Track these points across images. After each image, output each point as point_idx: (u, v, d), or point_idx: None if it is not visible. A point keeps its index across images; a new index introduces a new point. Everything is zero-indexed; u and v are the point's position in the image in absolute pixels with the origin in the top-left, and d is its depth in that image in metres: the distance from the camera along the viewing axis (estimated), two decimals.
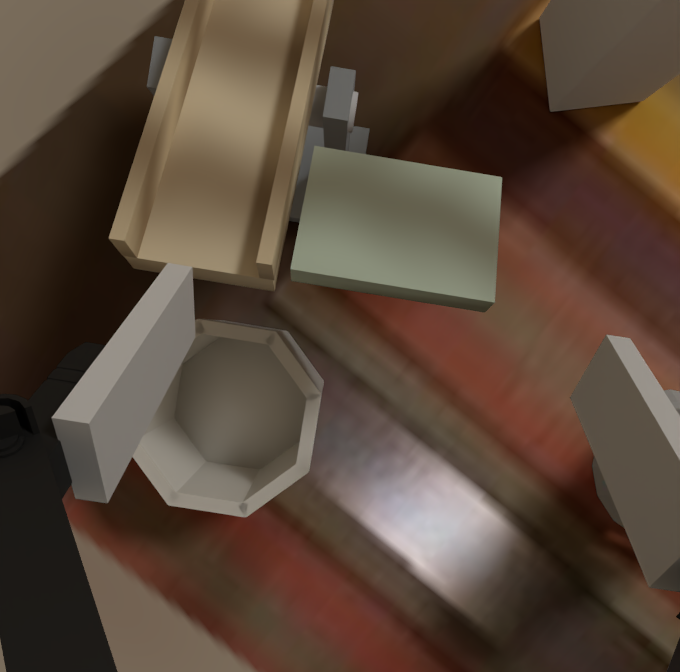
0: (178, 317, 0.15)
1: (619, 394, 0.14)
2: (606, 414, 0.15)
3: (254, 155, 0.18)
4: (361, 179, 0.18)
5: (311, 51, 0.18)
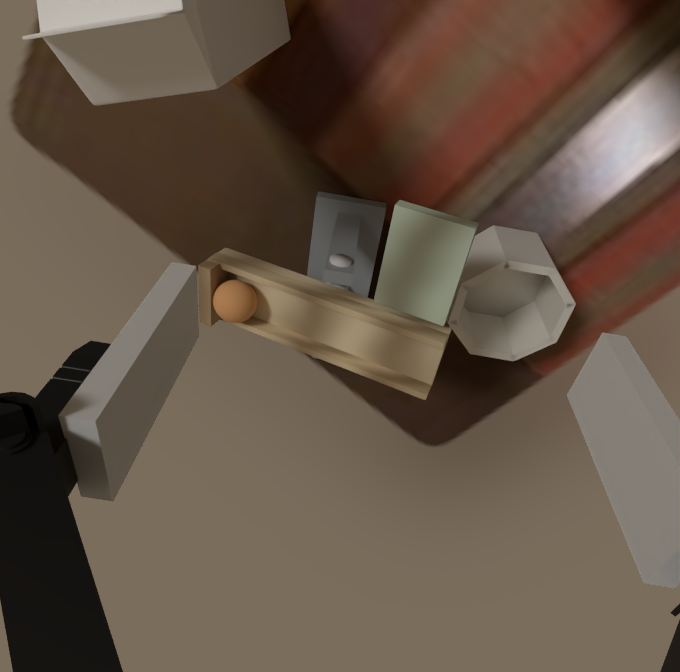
0: (182, 316, 0.15)
1: (615, 391, 0.14)
2: (602, 411, 0.15)
3: (378, 329, 0.35)
4: (394, 283, 0.33)
5: (325, 302, 0.34)
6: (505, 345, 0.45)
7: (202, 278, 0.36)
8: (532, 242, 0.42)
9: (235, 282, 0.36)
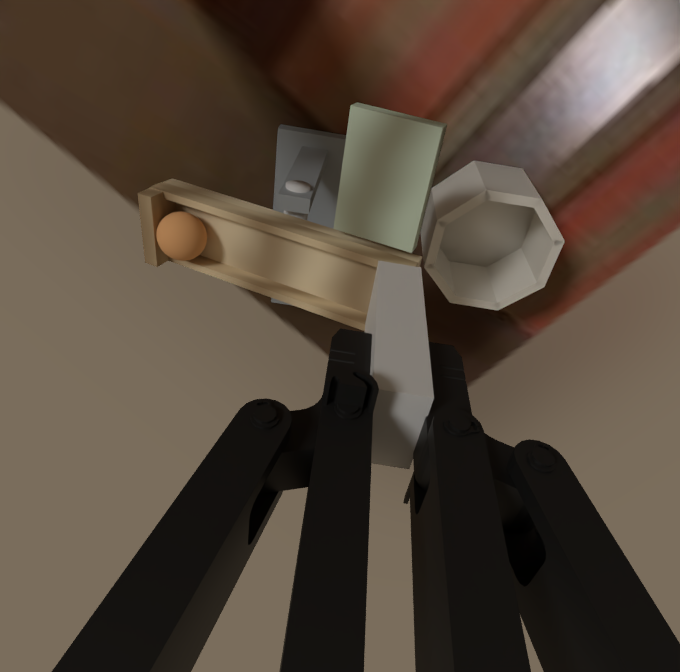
0: None
1: None
2: None
3: (341, 262, 0.31)
4: (354, 203, 0.29)
5: (278, 230, 0.30)
6: (489, 293, 0.41)
7: (142, 208, 0.32)
8: (516, 176, 0.38)
9: (180, 213, 0.32)
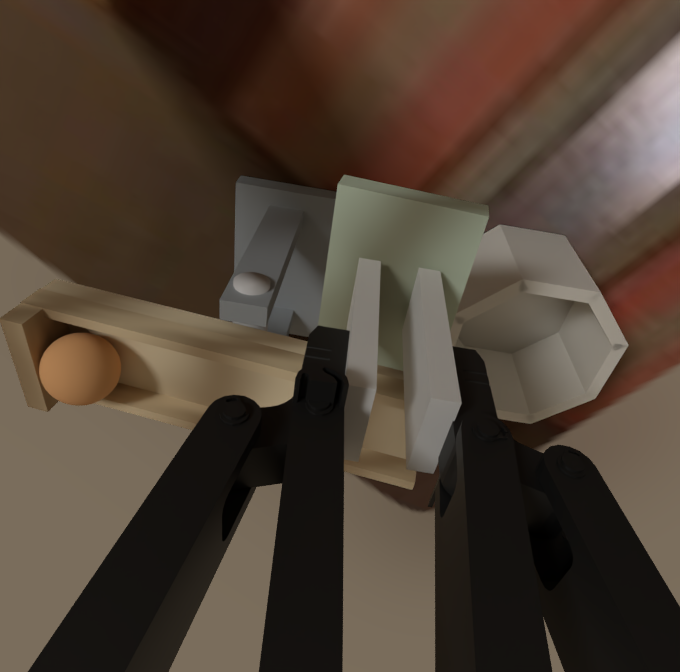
0: None
1: (416, 315, 0.16)
2: (410, 336, 0.17)
3: None
4: (346, 317, 0.19)
5: (233, 360, 0.20)
6: (518, 399, 0.31)
7: (11, 338, 0.21)
8: (559, 250, 0.28)
9: (74, 339, 0.21)
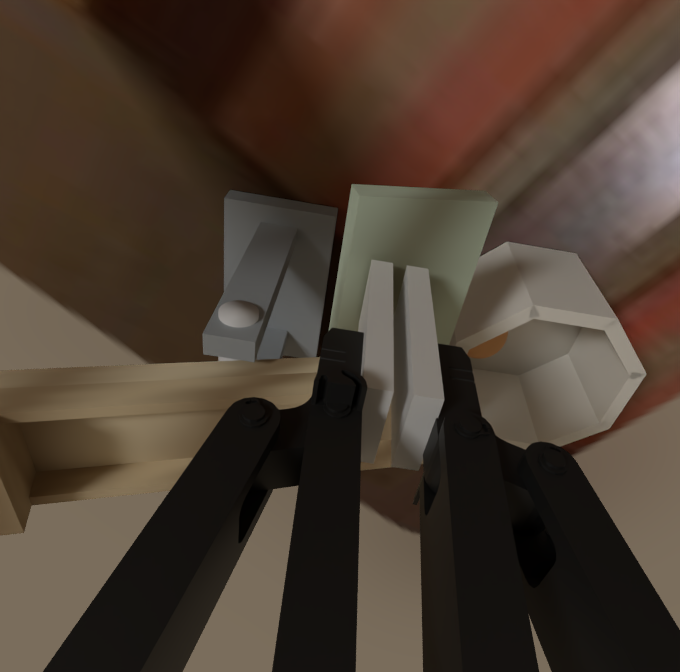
0: None
1: (404, 312, 0.16)
2: (398, 333, 0.17)
3: None
4: None
5: None
6: (526, 427, 0.29)
7: None
8: (571, 270, 0.26)
9: None
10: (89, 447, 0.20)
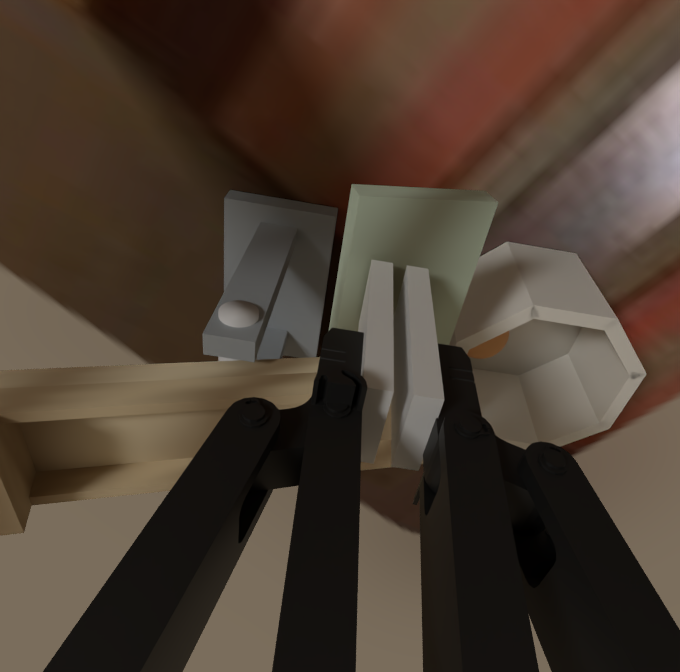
0: None
1: (404, 312, 0.16)
2: (398, 333, 0.17)
3: None
4: None
5: None
6: (526, 427, 0.29)
7: None
8: (571, 270, 0.26)
9: None
10: (89, 447, 0.20)
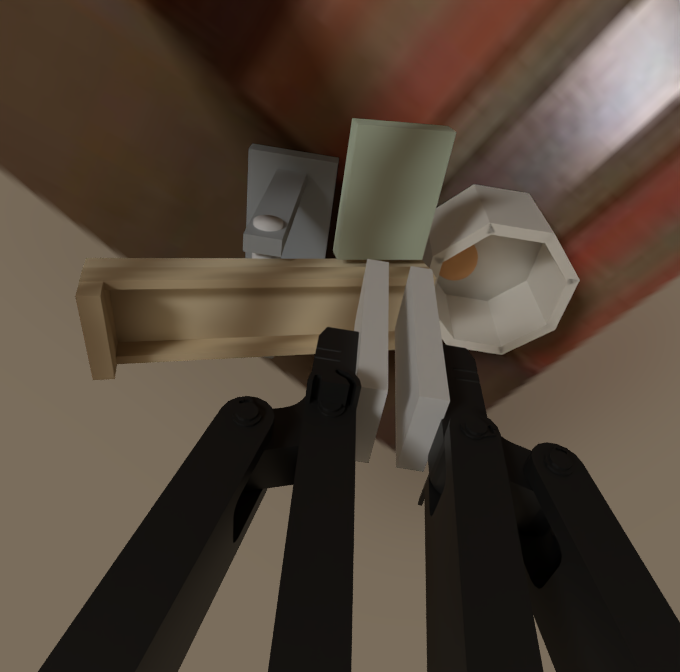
0: None
1: (408, 313, 0.16)
2: (402, 334, 0.17)
3: (345, 291, 0.28)
4: (362, 227, 0.26)
5: (284, 282, 0.26)
6: (491, 335, 0.36)
7: (86, 313, 0.23)
8: (523, 203, 0.33)
9: None
10: (158, 322, 0.27)
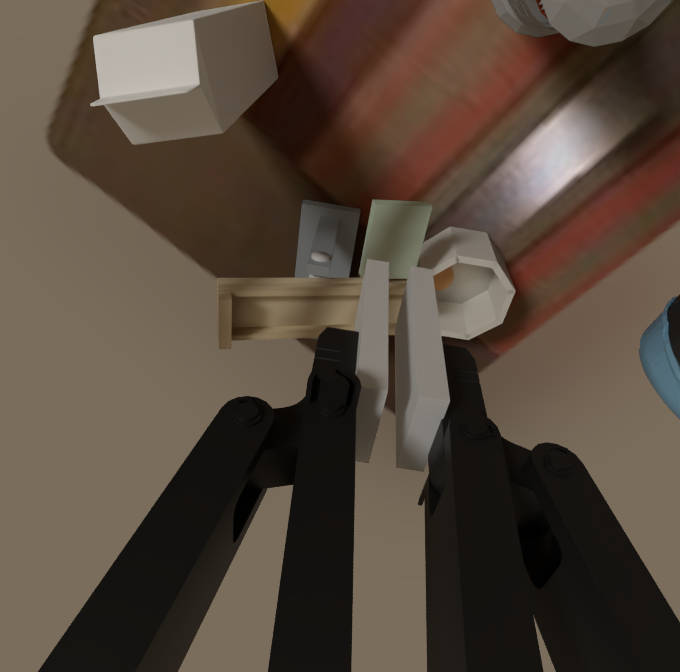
0: None
1: (408, 313, 0.16)
2: (402, 334, 0.17)
3: None
4: None
5: (330, 292, 0.43)
6: (461, 327, 0.54)
7: (222, 310, 0.41)
8: (481, 240, 0.51)
9: None
10: (254, 316, 0.44)
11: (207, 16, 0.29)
